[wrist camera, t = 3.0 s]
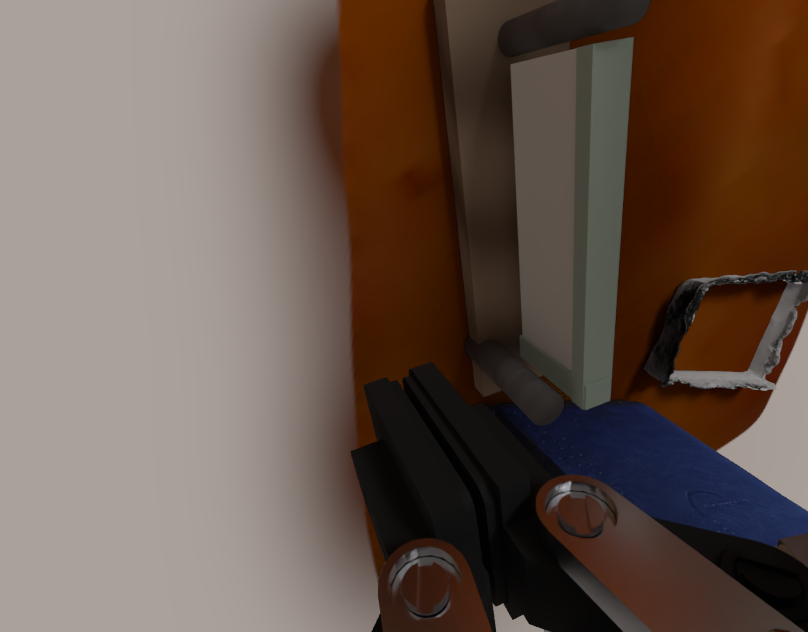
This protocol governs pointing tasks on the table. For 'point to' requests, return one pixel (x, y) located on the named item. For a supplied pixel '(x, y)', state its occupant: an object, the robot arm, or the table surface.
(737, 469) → the book
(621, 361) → the table surface
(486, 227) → the gate frame
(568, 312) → the panel
